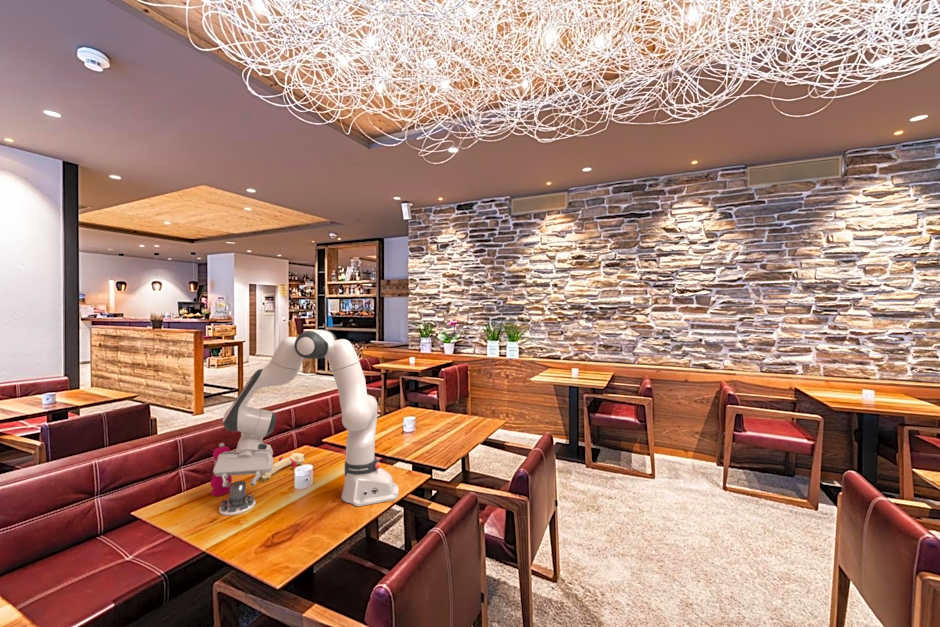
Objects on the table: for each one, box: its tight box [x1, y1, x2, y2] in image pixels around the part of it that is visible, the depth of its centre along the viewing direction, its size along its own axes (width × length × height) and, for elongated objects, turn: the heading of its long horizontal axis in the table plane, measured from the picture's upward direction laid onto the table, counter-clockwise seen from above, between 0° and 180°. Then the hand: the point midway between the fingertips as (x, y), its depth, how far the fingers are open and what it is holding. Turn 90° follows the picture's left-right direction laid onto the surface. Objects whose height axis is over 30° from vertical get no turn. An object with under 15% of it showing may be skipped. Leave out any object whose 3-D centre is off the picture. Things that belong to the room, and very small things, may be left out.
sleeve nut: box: [229, 480, 247, 508], centre depth 143 cm, size 5×5×8 cm
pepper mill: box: [210, 442, 233, 497], centre depth 155 cm, size 7×7×20 cm
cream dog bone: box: [253, 452, 306, 483], centre depth 177 cm, size 10×9×25 cm
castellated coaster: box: [218, 493, 256, 516], centre depth 144 cm, size 12×12×3 cm
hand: (238, 485), depth 144 cm, fingers open, 8 cm apart
